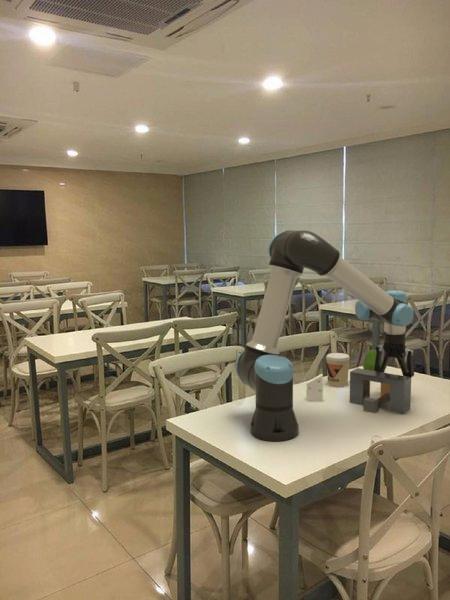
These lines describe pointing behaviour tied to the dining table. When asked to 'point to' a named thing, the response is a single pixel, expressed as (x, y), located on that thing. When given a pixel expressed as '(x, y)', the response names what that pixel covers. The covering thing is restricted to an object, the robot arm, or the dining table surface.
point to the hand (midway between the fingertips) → (393, 392)
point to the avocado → (370, 360)
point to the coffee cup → (337, 369)
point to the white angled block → (315, 389)
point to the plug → (374, 404)
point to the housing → (398, 383)
